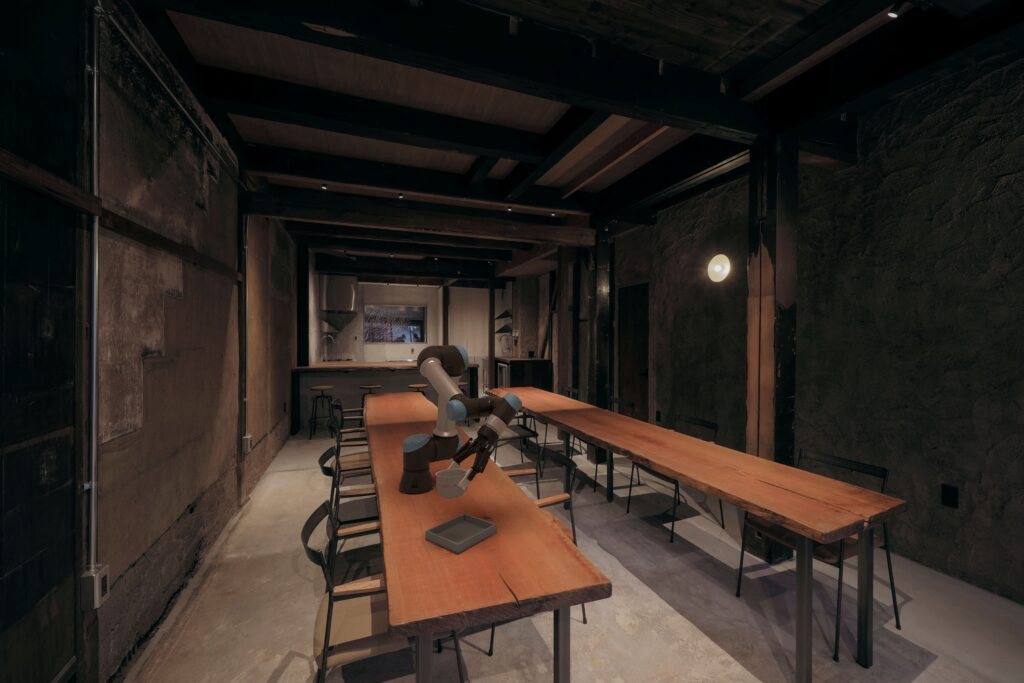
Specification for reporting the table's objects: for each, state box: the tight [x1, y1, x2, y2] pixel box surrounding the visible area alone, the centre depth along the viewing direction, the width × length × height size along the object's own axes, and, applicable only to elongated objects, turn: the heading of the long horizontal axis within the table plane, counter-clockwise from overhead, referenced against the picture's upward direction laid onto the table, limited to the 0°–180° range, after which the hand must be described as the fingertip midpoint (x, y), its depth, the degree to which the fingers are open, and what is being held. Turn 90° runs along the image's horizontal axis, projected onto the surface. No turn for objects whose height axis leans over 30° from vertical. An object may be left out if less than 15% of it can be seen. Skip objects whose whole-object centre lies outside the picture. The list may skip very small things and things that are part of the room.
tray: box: [424, 512, 497, 555], centre depth 142 cm, size 15×18×3 cm
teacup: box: [434, 467, 470, 500], centre depth 141 cm, size 14×11×8 cm
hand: (452, 483), depth 140 cm, fingers closed on teacup, 11 cm apart
